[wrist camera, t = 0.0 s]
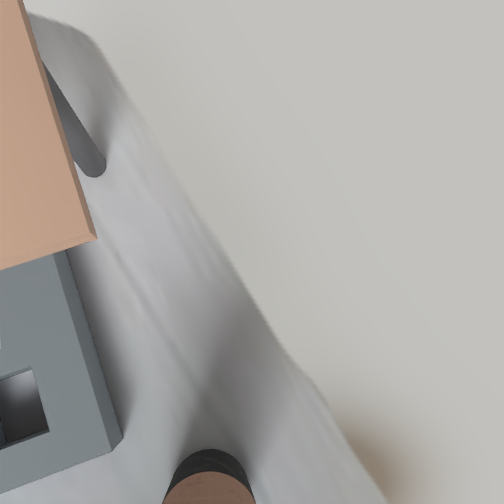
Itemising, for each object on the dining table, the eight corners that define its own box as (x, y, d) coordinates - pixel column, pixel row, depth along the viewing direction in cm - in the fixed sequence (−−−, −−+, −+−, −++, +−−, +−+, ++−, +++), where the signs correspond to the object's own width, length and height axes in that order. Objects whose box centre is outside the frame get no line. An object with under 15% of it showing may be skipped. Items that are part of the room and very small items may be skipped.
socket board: (123, 438, 44) (111, 451, 40) (-31, 496, 43) (-63, 518, 38) (61, 236, 47) (43, 225, 42) (-86, 284, 45) (-123, 277, 40)
